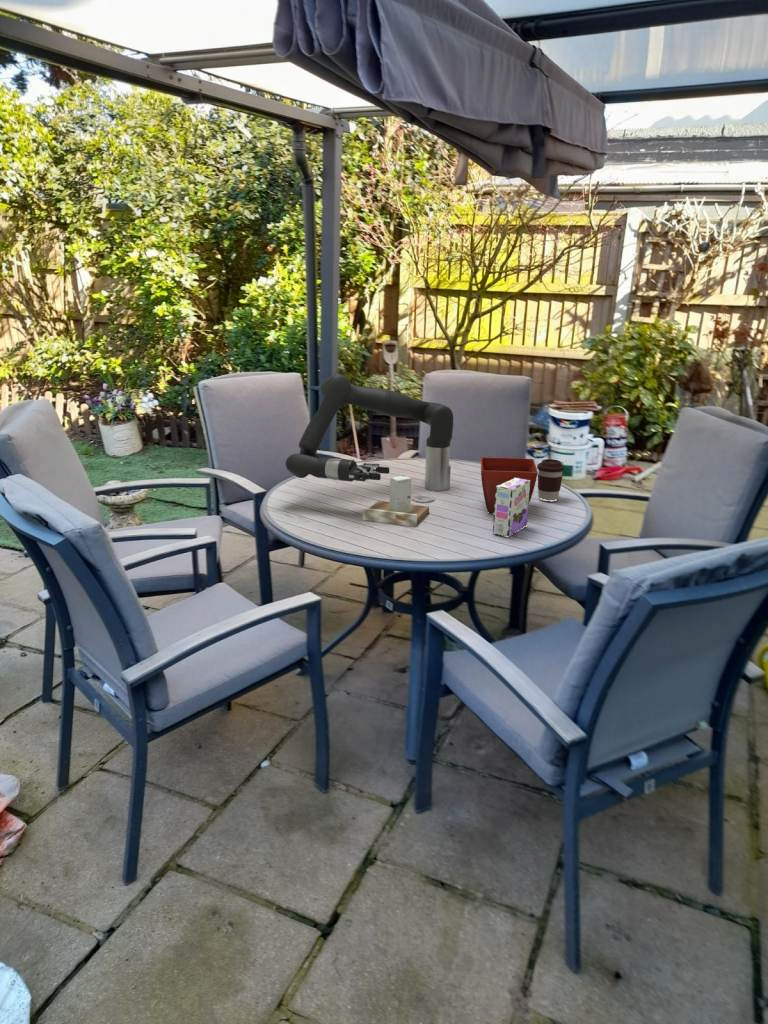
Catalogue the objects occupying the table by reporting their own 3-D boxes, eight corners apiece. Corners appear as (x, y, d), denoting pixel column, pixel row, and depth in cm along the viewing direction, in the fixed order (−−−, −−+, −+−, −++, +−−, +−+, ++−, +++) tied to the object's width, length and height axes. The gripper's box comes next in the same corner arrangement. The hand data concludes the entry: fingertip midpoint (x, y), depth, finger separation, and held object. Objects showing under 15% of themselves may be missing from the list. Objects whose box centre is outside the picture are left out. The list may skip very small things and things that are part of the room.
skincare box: (396, 515, 226) (396, 480, 222) (389, 511, 230) (389, 477, 226) (411, 512, 229) (412, 478, 226) (404, 508, 233) (404, 475, 229)
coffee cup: (564, 503, 248) (568, 464, 244) (537, 503, 248) (541, 464, 244) (557, 496, 258) (561, 458, 253) (532, 495, 258) (535, 457, 253)
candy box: (508, 538, 213) (511, 488, 208) (491, 534, 216) (494, 485, 211) (527, 527, 223) (531, 479, 218) (511, 523, 227) (515, 476, 222)
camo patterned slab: (428, 513, 236) (429, 502, 235) (415, 527, 222) (415, 515, 221) (378, 507, 242) (378, 496, 241) (362, 520, 229) (362, 509, 227)
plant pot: (478, 516, 234) (480, 469, 228) (478, 500, 252) (480, 456, 246) (534, 519, 231) (538, 472, 226) (530, 502, 249) (533, 458, 244)
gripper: (332, 464, 225) (377, 468, 220) (348, 454, 238) (391, 458, 233) (332, 485, 228) (377, 490, 222) (349, 475, 240) (392, 478, 235)
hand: (384, 473), depth 227 cm, fingers open, 8 cm apart
